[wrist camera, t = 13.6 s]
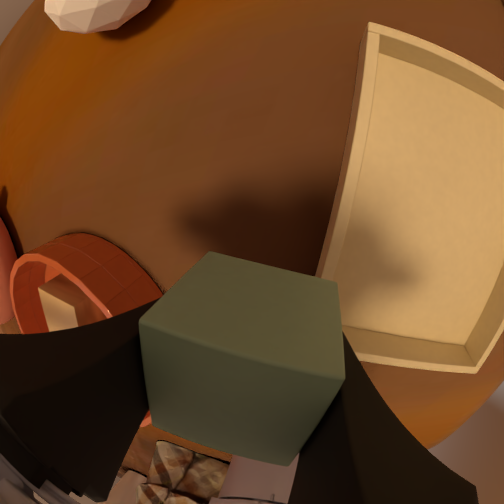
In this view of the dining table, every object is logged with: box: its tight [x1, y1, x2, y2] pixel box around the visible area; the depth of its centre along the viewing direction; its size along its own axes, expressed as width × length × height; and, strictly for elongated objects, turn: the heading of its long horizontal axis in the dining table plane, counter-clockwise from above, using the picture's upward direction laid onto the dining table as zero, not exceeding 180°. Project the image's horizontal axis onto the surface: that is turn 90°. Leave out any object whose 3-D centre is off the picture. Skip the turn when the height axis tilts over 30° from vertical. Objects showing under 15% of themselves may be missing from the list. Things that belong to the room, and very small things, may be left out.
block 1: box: [38, 273, 107, 332], centre depth 19 cm, size 4×4×4 cm
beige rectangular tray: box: [315, 22, 504, 374], centre depth 12 cm, size 17×13×3 cm
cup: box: [97, 470, 147, 504], centre depth 33 cm, size 10×10×13 cm
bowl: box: [10, 233, 163, 427], centre depth 20 cm, size 17×17×5 cm
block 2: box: [139, 251, 345, 467], centre depth 8 cm, size 4×4×4 cm
